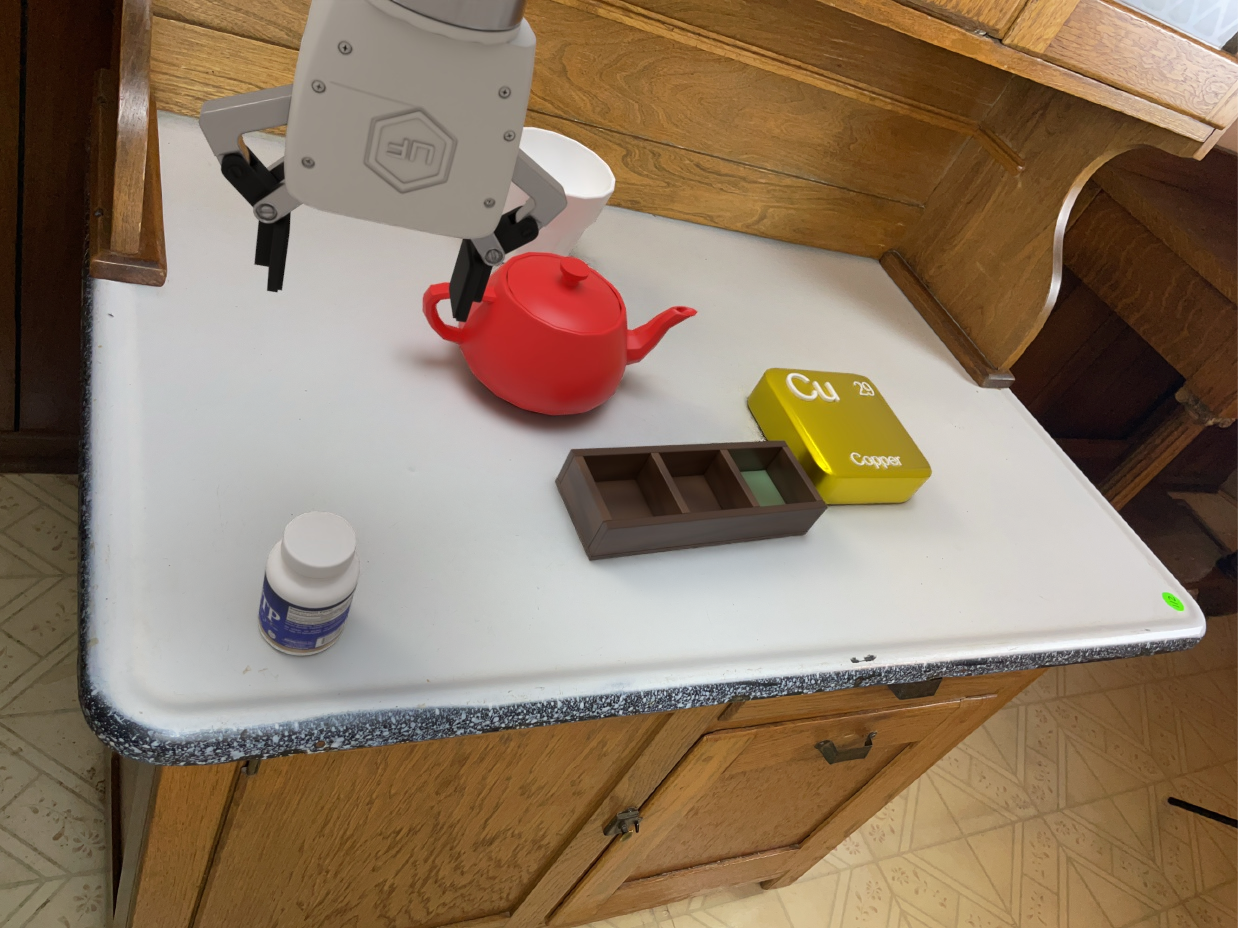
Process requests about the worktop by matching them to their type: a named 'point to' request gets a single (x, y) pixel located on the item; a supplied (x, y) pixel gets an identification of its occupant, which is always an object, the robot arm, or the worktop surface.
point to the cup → (582, 184)
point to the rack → (685, 496)
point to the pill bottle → (309, 584)
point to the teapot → (550, 333)
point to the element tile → (840, 435)
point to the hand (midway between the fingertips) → (369, 291)
